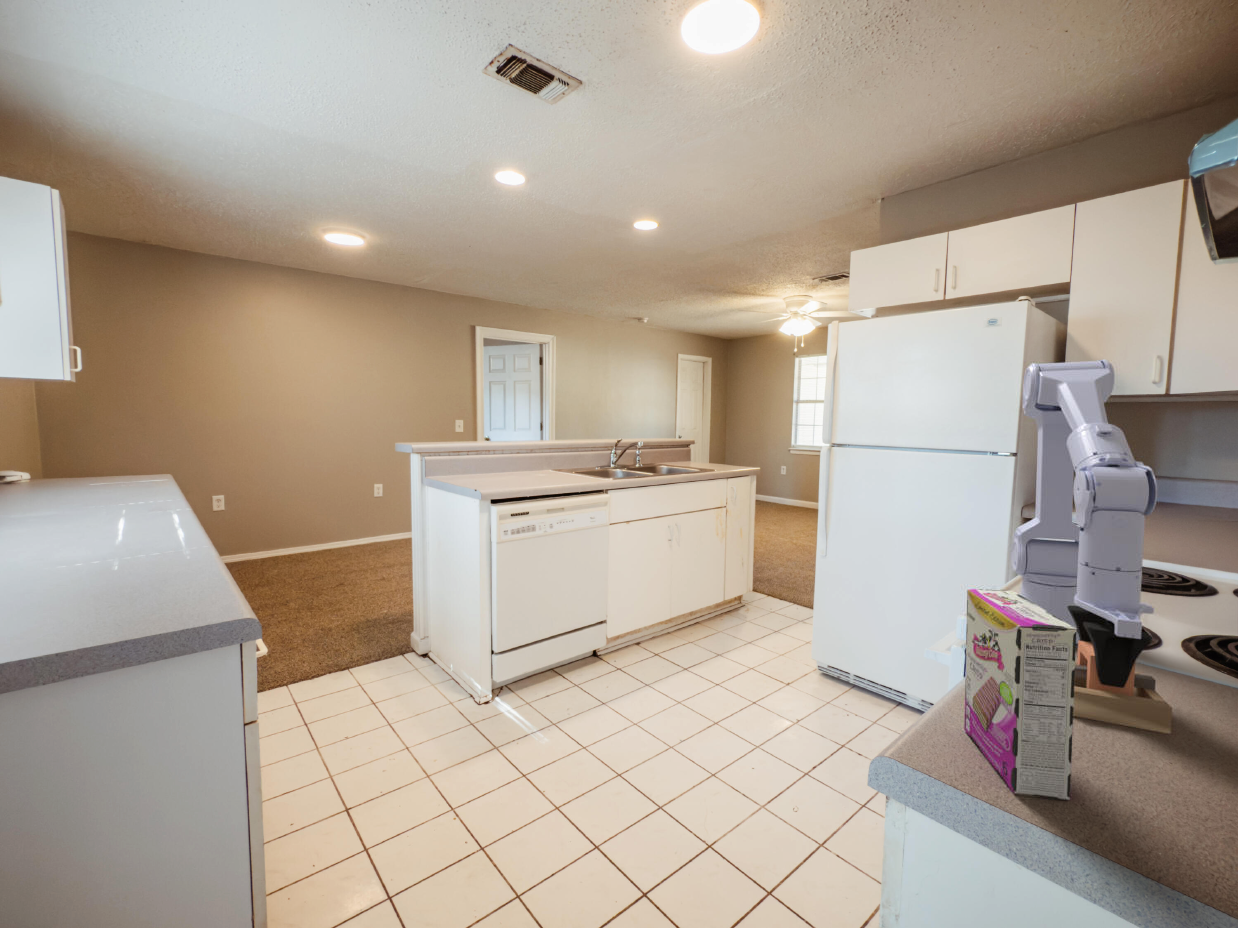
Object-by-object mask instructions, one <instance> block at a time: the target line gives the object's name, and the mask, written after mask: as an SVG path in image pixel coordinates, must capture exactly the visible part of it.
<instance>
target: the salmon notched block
mask: <svg viewBox="0 0 1238 928" xmlns="http://www.w3.org/2000/svg"><path fill="white" fill-rule="evenodd" d="M1076 662H1077V665H1081V666H1087V684H1086V688H1088V689H1094V690H1100V691H1106V692H1111V693H1117V694H1123V695H1129V696H1133V694H1134V676H1135V671H1136V662H1135V663H1134V665H1133V667H1132V670H1131V672H1130V675H1129V678H1128V680H1127V682H1126V684H1125V686H1124V688H1120V687H1114V686H1108V685H1103V684H1101V683H1100V681H1099V678H1098V675H1097V670H1096V661H1095V654H1094V649H1093V645H1092V642H1085V641H1078V644H1077V660H1076Z"/></svg>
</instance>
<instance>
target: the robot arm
mask: <svg viewBox="0 0 1238 928" xmlns="http://www.w3.org/2000/svg"><path fill="white" fill-rule="evenodd" d="M1022 386H1023V387H1022V409H1023V414H1024V415H1023V416H1026V417H1028V418H1031V419H1034V420H1035V424H1036V428H1037V449H1036V451H1037V453H1036V456H1037V457H1036V487H1035V489H1036V490H1035V514H1034V515H1035V517H1034V518H1032V519H1031V520H1028V521H1026V522H1025V523H1023V524H1022V525H1020V526H1018V527H1017V528H1015V531H1014V532H1013V542H1012V545H1011V554H1010V555H1011V557H1010V560H1011V566H1012V571H1014V573H1016V575H1018V576H1020V577H1021V578H1022V579H1021V584H1020V587H1019V589H1020V590H1019V595H1021V596H1023V597H1024V598H1026V599H1028V600H1029V601H1031V602H1033V603H1034V604H1036V605H1037V606H1039V607H1041V608H1042V609H1044V610H1046V611H1047V612H1049V613H1051V614H1052V615H1054V616H1056V617H1057V618H1059V619H1061V620H1062V621H1064V622H1066V623H1067V624H1069V625H1071V626H1073V627H1074V628H1076V629H1077V633H1076V645H1078V641H1085V642H1092V645H1093V649H1094V654H1095V661H1096V670H1097V675H1098V678H1099V681H1100V683H1101V684H1103V685H1108V686H1114V687H1120V688H1124V686H1125V684H1126V682H1127V680H1128V678H1129V675H1130V672H1131V670H1132V667H1133V665H1134V663H1135V664H1136V661H1137V660H1138V657H1139V656H1140V654H1142V652H1143V651H1144V650H1145V649H1146V648H1147V647H1149V646H1150V644H1151V643H1152V641H1153V636H1152V635H1150V634H1149V633H1148V632H1146V631H1142V628H1143V627H1142V626H1143V622H1142V621H1141V620H1140V619H1141V618H1142V614H1148V615H1149V614H1150V615H1153V614H1154V611H1155V609H1154V607H1153V606H1151V604H1148V603H1144V602H1141V598H1142V597H1141V595H1142V594H1141V593H1142V578H1143V576H1142V575H1143V562H1144V561H1143V557H1144V542H1145V541H1144V540H1145V526H1146V523H1145V521H1146V516H1150V515H1151V514H1152V513H1153V512H1154V510H1155V507H1156V505H1157V500H1158V483H1157V479H1156V476H1155V473H1154V470H1153V469H1152V468H1151V467H1150V466H1149V465H1145V464H1144V463H1143V462H1142V461H1137V460H1135V457H1134V456H1133V453H1132V451H1131V448H1130V446H1129V444H1128V441H1127V438H1126V435H1125V433H1124V432H1123V430H1122V429H1121V428H1120V427H1118V426H1117V425H1115V424H1113V423H1111V424H1110V423H1109V422H1108V416H1107V412H1106V408H1105V407H1106V406H1105V403H1106V402H1107V401H1108V398H1110V397H1111V395H1112V393H1113V389H1114V386H1115V369H1114V367H1113V365H1112V363H1110V362H1109V360H1108V359H1099V360H1090V361H1089V360H1088V361H1069V362H1051V363H1050V362H1049V363H1037V362H1032V363H1031V364H1030V365H1029V366H1028V367H1027V368H1026V369H1025V372H1024V377H1023V384H1022ZM1074 473H1075V476H1074ZM1073 501H1074V507H1075V522H1076V523H1074V522H1073Z"/></svg>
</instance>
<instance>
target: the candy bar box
mask: <svg viewBox="0 0 1238 928" xmlns="http://www.w3.org/2000/svg"><path fill="white" fill-rule="evenodd" d="M1077 632H1078V631H1077V629H1076V628H1074V627H1073V626H1071V625H1069V624H1067V623H1066V622H1064V621H1062V620H1061V619H1059V618H1057V617H1056V616H1054V615H1052V614H1051V613H1049V612H1047V611H1046V610H1044V609H1042V608H1041V607H1039V606H1037V605H1036V604H1034V603H1033V602H1031V601H1029V600H1028V599H1026V598H1024V597H1023V596H1021V595H1020V593H1018V592H1016V591H1013V590H1003V589H1002V590H1001V589H1000V590H999V589H983V588H982V589H980V588H973V589H972V588H971V589H967V591H966V634H965V635H966V636H965V637H966V642H965V687H964V688H965V691H964V692H965V695H964V727H963V729H964V731H965V732H966V733H967V735H968V736H969V738H970V739H971V740H972V741H973V742H974V744H975V745H976V746H977V747H978V749H979V751H981V752H982V754H983V755H984V756H985V758H986V759H987V760H988V762H989V763H990V764H991V765H992V767H993V769H994V770H995V771H996V772H997V773H998V774H999V776H1000V777H1001V778H1002V780H1003V781H1004V783H1005V784H1006V785H1007V786H1008V788H1009V789H1010V790H1011V792H1012V793H1013V794H1015V795H1018V796H1024V797H1031V798H1032V797H1033V798H1034V797H1035V798H1045V799H1054V800H1061V801H1062V800H1063V801H1070V800H1071V783H1072V781H1071V780H1072V760H1073V759H1072V756H1073V730H1074V729H1073V728H1074V716H1073V712H1074V711H1073V710H1074V685H1075V662H1076V649H1077V644H1076V633H1077Z"/></svg>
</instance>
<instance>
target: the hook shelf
mask: <svg viewBox="0 0 1238 928" xmlns="http://www.w3.org/2000/svg"><path fill="white" fill-rule="evenodd" d="M1156 682H1157V681H1156V679H1155V678H1154V677H1153V676H1152V675H1147V674H1141V673H1139V671H1137V670H1135V676H1134V694H1133V696H1129V695H1123V694H1117V693H1111V692H1106V691H1100V690H1094V689H1088V688H1086V684H1087V666H1081V665H1077V661H1075V685H1074V710H1073V711H1074V712H1073V717H1078V718H1081V719H1082V718H1083V719H1089V720H1093V721H1094V720H1095V721H1099V722H1103V723H1104V722H1105V723H1108V724H1109V723H1110V724H1116V725H1121V726H1124V727H1131V728H1137V729H1143V730H1147V731H1148V730H1149V731H1151V732H1157V733H1163V734H1168V735H1171V732H1172V730H1171V729H1172V728H1171V727H1172V713H1173V711H1172V710H1173V708H1172V706H1171V705H1170V704H1169V703H1168V702H1167V701H1166V700H1165V699H1164V697H1162V696H1161V695H1160V693H1158V692H1157V691H1156Z"/></svg>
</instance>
